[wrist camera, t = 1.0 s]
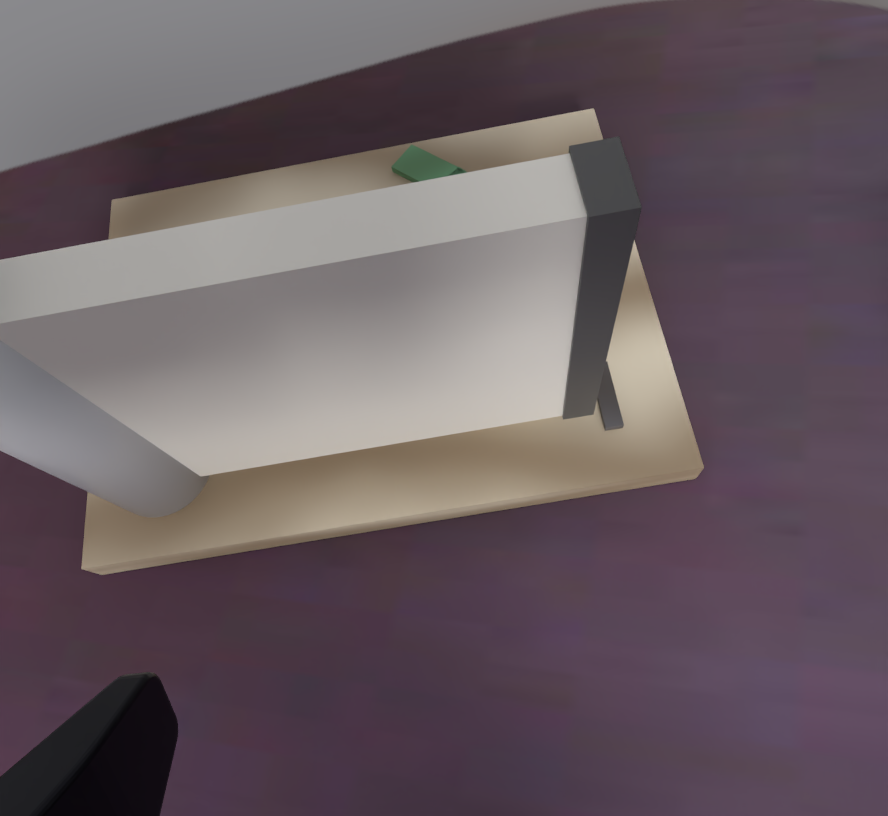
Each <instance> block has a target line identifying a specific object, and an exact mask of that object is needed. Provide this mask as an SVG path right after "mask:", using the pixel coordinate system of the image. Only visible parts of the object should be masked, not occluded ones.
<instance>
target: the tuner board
mask: <svg viewBox="0 0 888 816" xmlns="http://www.w3.org/2000/svg"><path fill="white" fill-rule="evenodd" d="M598 140H603V137H602V134H601V131H600V127H599V124H598V121H597V118H596V114H595V111H594V108H593V109H587V110H582V111H577V112H572V113H566V114H561V115H556V116H551V117H545V118H540V119H535V120H530V121H524V122H519V123H514V124H509V125H503V126H498V127H493V128H488V129H482V130H477V131H472V132H466V133H461V134H456V135H451V136H445V137H440V138H435V139H430V140H424V141H419V142H414V143H409V144H403V145H398V146H393V147H388V148H382V149H377V150H372V151H367V152H361V153H356V154H351V155H346V156H340V157H335V158H330V159H325V160H319V161H314V162H309V163H304V164H298V165H293V166H288V167H282V168H277V169H272V170H267V171H261V172H256V173H251V174H246V175H240V176H235V177H230V178H225V179H219V180H214V181H209V182H204V183H198V184H193V185H188V186H183V187H177V188H172V189H167V190H162V191H156V192H151V193H146V194H141V195H135V196H130V197H125V198H120V199H114V200H112V204H111V216H110V228H109V239H115V238H120V237H125V236H131V235H136V234H141V233H147V232H152V231H157V230H163V229H168V228H173V227H179V226H184V225H190V224H195V223H200V222H206V221H211V220H216V219H222V218H227V217H232V216H238V215H243V214H248V213H254V212H259V211H264V210H270V209H275V208H280V207H286V206H291V205H296V204H302V203H307V202H312V201H318V200H323V199H328V198H334V197H339V196H344V195H350V194H355V193H360V192H366V191H371V190H376V189H382V188H387V187H392V186H398V185H403V184H408V183H414V182H419V181H424V180H430V179H435V178H441V177H446V176H451V175H457V174H462V173H467V172H473V171H478V170H483V169H489V168H494V167H499V166H505V165H510V164H515V163H521V162H526V161H531V160H537V159H542V158H547V157H553V156H558V155H563V154H569V146H571V145H576V144H582V143H587V142H592V141H598ZM703 469H704V466H703V463H702V459H701V456H700V453H699V450H698V446H697V443H696V440H695V437H694V433H693V430H692V427H691V424H690V420H689V417H688V414H687V411H686V407H685V404H684V401H683V398H682V394H681V391H680V388H679V385H678V381H677V378H676V375H675V372H674V368H673V365H672V362H671V358H670V355H669V352H668V349H667V345H666V342H665V339H664V336H663V332H662V329H661V326H660V323H659V319H658V316H657V313H656V310H655V306H654V303H653V300H652V297H651V293H650V290H649V287H648V284H647V280H646V277H645V274H644V271H643V267H642V264H641V261H640V258H639V254H638V251H637V248H636V245H635V241H634V243H633V247H632V251H631V256H630V260H629V264H628V269H627V273H626V277H625V281H624V286H623V290H622V294H621V299H620V303H619V307H618V312H617V316H616V320H615V324H614V329H613V333H612V337H611V342H610V346H609V350H608V355H607V359H606V363H605V367H604V372H603V376H602V380H601V385H600V389H599V393H598V398H597V402H596V406H595V410H594V415H588V416H582V417H576V418H570V419H564V420H563V417H562V416H558V417H552V418H546V419H540V420H534V421H528V422H522V423H516V424H511V425H505V426H499V427H493V428H487V429H481V430H475V431H469V432H463V433H457V434H451V435H445V436H439V437H433V438H427V439H421V440H415V441H409V442H403V443H397V444H392V445H386V446H380V447H374V448H368V449H362V450H356V451H350V452H344V453H338V454H332V455H326V456H320V457H314V458H308V459H302V460H296V461H290V462H284V463H278V464H273V465H267V466H261V467H255V468H249V469H243V470H237V471H231V472H225V473H219V474H213V475H210V476H209V478H208V480H207V482H206V484H205V486H204V488H203V489H202V491H201V492H200V493H199V495H198V496H197V497H196V498H195V499H194V500H193V501H192V502H191V503H189V504H188V505H187V506H185V507H184V508H182V509H181V510H179V511H177V512H175V513H172V514H170V515H167V516H162V517H154V518H153V517H143V516H139V515H136V514H134V513H132V512H130V511H128V510H125V509H123V508H121V507H119V506H117V505H115V504H113V503H111V502H108V501H106V500H104V499H102V498H100V497H98V496H96V495H94V494H91V493H89V492H88V495H87V507H86V519H85V531H84V543H83V555H82V567H81V569H83V570H86V571H90V572H93V573H97V574H100V575H104V574H110V573H117V572H123V571H129V570H135V569H141V568H147V567H154V566H160V565H166V564H172V563H178V562H185V561H191V560H197V559H203V558H209V557H215V556H222V555H228V554H234V553H240V552H246V551H253V550H259V549H265V548H271V547H277V546H283V545H290V544H296V543H302V542H308V541H314V540H320V539H327V538H333V537H339V536H345V535H351V534H358V533H364V532H370V531H376V530H382V529H388V528H395V527H401V526H407V525H413V524H419V523H425V522H432V521H438V520H444V519H450V518H456V517H463V516H469V515H475V514H481V513H487V512H493V511H500V510H506V509H512V508H518V507H524V506H531V505H537V504H543V503H549V502H555V501H561V500H568V499H574V498H580V497H586V496H592V495H598V494H605V493H611V492H617V491H623V490H629V489H636V488H642V487H648V486H654V485H660V484H666V483H673V482H679V481H685V480H691V479H696V478H697V476H698V475H699V474H700V472H701V471H702V470H703Z"/></svg>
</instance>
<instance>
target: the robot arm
mask: <svg viewBox="0 0 888 816" xmlns="http://www.w3.org/2000/svg"><path fill="white" fill-rule="evenodd" d="M177 737H178V723H177V718H176V715H175V713H174V710H173V708H172V706H171V703H170V701H169V699H168V696H167V694H166V692H165V689H164V687H163V685H162V682H161V680H160V678H159V677H158V676H157V675H156V674H154V673H151V672H146V673H136V674H126V675H123V676H120V677H118V678H117V679H116V680H114V681H113V682H112V683H111V684H109V685H108V686H107V687H106V688H105V689H103V690H102V691H101V692H100V693H99V694H98V695H96V696H95V697H94V698H93V699H92V700H90V701H89V702H88V703H87V704H86V705H85V706H83V707H82V708H81V709H80V710H79V711H77V712H76V713H75V714H74V715H73V716H72V717H70V718H69V719H68V720H67V721H66V722H64V723H63V724H62V725H61V726H60V727H59V728H57V729H56V730H55V731H54V732H53V733H51V734H50V735H49V736H48V737H47V738H46V739H44V740H43V741H42V742H41V743H40V744H38V745H37V746H36V747H35V748H34V749H33V750H31V751H30V752H29V753H28V754H27V755H25V756H24V757H23V758H22V759H21V760H20V761H18V762H17V763H16V764H15V765H14V766H13V767H11V768H10V769H9V770H8V771H7V772H5V773H4V774H3V775H2V776H1V777H0V816H160V812H161V807H162V803H163V799H164V794H165V790H166V786H167V781H168V777H169V773H170V768H171V764H172V760H173V755H174V751H175V747H176V742H177Z"/></svg>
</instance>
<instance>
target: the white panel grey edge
mask: <svg viewBox="0 0 888 816" xmlns="http://www.w3.org/2000/svg"><path fill="white" fill-rule="evenodd" d="M641 208H642V207H641V204H640V200H639V197H638V194H637V191H636V188H635V185H634V182H633V179H632V176H631V172H630V169H629V166H628V163H627V160H626V157H625V154H624V151H623V147H622V144H621V141H620V138H619V137H614V138H608V139H603V140H598V141H592V142H587V143H582V144H576V145H571V146H569V154H563V155H558V156H553V157H547V158H542V159H537V160H531V161H526V162H521V163H515V164H510V165H505V166H499V167H494V168H489V169H483V170H478V171H473V172H467V173H462V174H457V175H451V176H446V177H441V178H435V179H430V180H424V181H419V182H414V183H408V184H403V185H398V186H392V187H387V188H382V189H376V190H371V191H366V192H360V193H355V194H350V195H344V196H339V197H334V198H328V199H323V200H318V201H312V202H307V203H302V204H296V205H291V206H286V207H280V208H275V209H270V210H264V211H259V212H254V213H248V214H243V215H238V216H232V217H227V218H222V219H216V220H211V221H206V222H200V223H195V224H190V225H184V226H179V227H173V228H168V229H163V230H157V231H152V232H147V233H141V234H136V235H131V236H125V237H120V238H115V239H109V240H104V241H99V242H93V243H88V244H83V245H77V246H72V247H67V248H61V249H56V250H51V251H45V252H40V253H35V254H29V255H24V256H19V257H13V258H8V259H3V260H0V451H2V452H4V453H6V454H9V455H11V456H13V457H15V458H17V459H19V460H21V461H23V462H26V463H28V464H30V465H32V466H34V467H36V468H38V469H40V470H43V471H45V472H47V473H49V474H51V475H53V476H55V477H57V478H60V479H62V480H64V481H66V482H68V483H70V484H72V485H74V486H77V487H79V488H81V489H83V490H85V491H87V492H89V493H91V494H94V495H96V496H98V497H100V498H102V499H104V500H106V501H108V502H111V503H113V504H115V505H117V506H119V507H121V508H123V509H125V510H128V511H130V512H132V513H134V514H136V515H139V516H143V517H153V518H154V517H162V516H167V515H170V514H172V513H175V512H177V511H179V510H181V509H182V508H184V507H185V506H187V505H188V504H189V503H191V502H192V501H193V500H194V499H195V498H196V497H197V496H198V495H199V493H200V492H201V491H202V489H203V488H204V486H205V484H206V482H207V480H208V478H209V476H210V475H213V474H219V473H225V472H231V471H237V470H243V469H249V468H255V467H261V466H267V465H273V464H278V463H284V462H290V461H296V460H302V459H308V458H314V457H320V456H326V455H332V454H338V453H344V452H350V451H356V450H362V449H368V448H374V447H380V446H386V445H392V444H397V443H403V442H409V441H415V440H421V439H427V438H433V437H439V436H445V435H451V434H457V433H463V432H469V431H475V430H481V429H487V428H493V427H499V426H505V425H511V424H516V423H522V422H528V421H534V420H540V419H546V418H552V417H558V416H562V417H563V420H564V419H570V418H576V417H582V416H588V415H594V410H595V406H596V402H597V398H598V393H599V389H600V385H601V380H602V376H603V372H604V367H605V363H606V359H607V355H608V350H609V346H610V342H611V337H612V333H613V329H614V324H615V320H616V316H617V312H618V307H619V303H620V299H621V294H622V290H623V286H624V281H625V277H626V273H627V269H628V264H629V260H630V256H631V251H632V247H633V243H634V238H635V234H636V230H637V226H638V221H639V217H640V213H641Z"/></svg>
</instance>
